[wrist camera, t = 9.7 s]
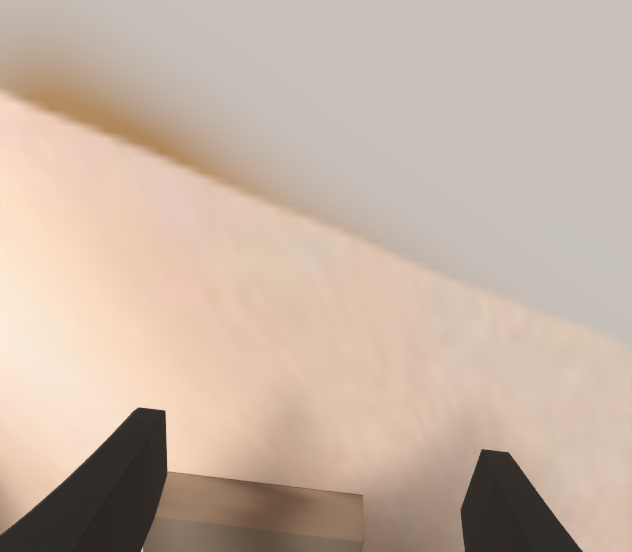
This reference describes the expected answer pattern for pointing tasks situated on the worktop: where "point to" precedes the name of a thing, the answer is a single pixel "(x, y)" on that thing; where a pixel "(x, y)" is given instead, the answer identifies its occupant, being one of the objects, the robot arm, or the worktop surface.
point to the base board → (252, 518)
